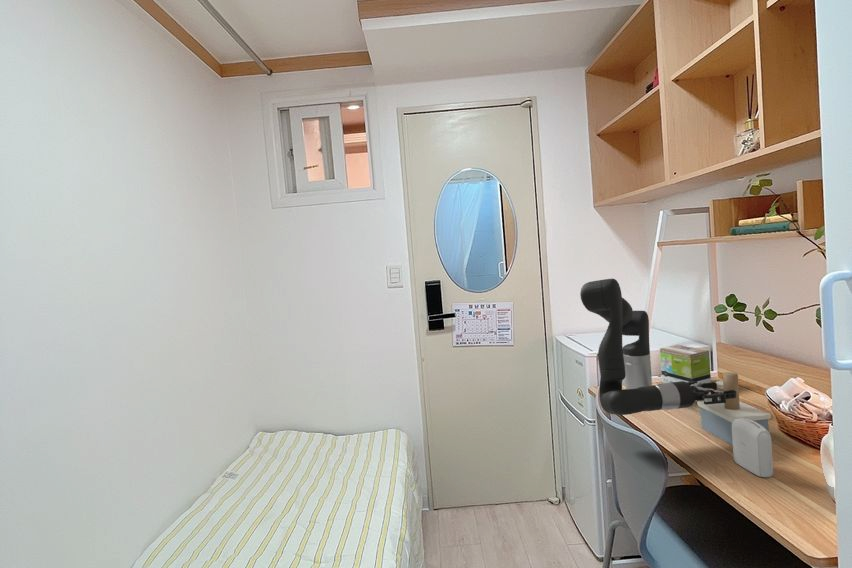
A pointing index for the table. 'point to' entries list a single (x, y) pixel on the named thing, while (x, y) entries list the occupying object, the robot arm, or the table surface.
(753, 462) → the photo printer
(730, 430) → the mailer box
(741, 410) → the lid
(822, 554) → the table surface
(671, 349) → the tea box
